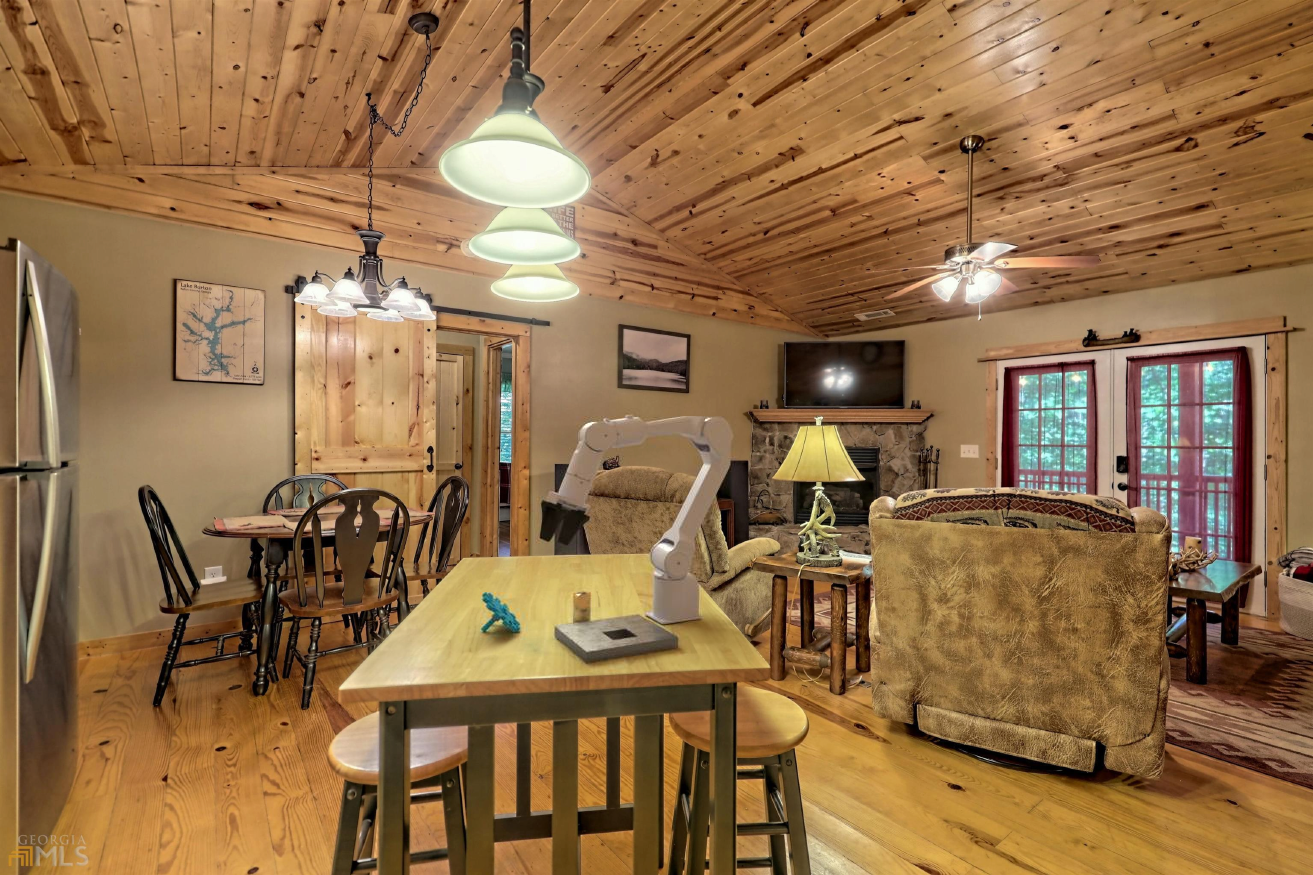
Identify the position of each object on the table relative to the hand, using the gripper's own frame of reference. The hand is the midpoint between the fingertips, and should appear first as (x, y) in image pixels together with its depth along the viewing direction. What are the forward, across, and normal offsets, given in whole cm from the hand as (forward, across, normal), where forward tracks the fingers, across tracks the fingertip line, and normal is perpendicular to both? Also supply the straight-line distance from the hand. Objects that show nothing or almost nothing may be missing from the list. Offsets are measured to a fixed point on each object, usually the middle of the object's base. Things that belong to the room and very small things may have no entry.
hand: (553, 542), depth 126 cm
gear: (+20, 0, -3) cm, 20 cm away
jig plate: (+12, -2, +19) cm, 23 cm away
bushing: (+14, -10, +8) cm, 19 cm away
